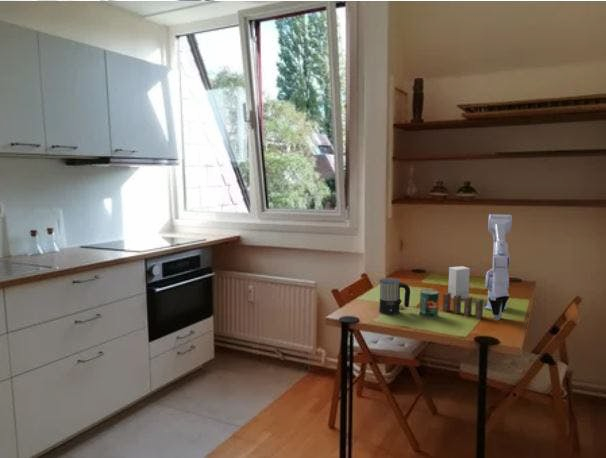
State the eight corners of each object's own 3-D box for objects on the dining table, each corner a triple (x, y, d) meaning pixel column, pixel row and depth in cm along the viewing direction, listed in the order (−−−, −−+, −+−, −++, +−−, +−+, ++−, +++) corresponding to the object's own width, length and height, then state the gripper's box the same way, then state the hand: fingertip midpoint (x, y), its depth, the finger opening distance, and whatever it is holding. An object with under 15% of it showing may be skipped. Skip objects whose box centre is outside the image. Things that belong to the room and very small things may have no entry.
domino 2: (457, 311, 207) (457, 294, 206) (460, 312, 206) (461, 295, 205) (453, 313, 204) (453, 296, 203) (456, 314, 203) (457, 296, 202)
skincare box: (460, 295, 235) (462, 265, 233) (469, 298, 228) (470, 268, 227) (447, 296, 232) (448, 266, 230) (455, 299, 226) (456, 269, 224)
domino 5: (497, 317, 199) (498, 299, 198) (501, 318, 198) (502, 300, 197) (494, 319, 196) (495, 301, 195) (497, 320, 195) (498, 302, 194)
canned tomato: (423, 311, 206) (424, 288, 204) (440, 315, 201) (441, 291, 199) (416, 316, 200) (417, 291, 198) (433, 319, 195) (434, 294, 193)
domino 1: (446, 309, 210) (447, 292, 209) (450, 309, 209) (450, 293, 208) (442, 311, 207) (443, 293, 206) (446, 311, 206) (446, 294, 205)
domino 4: (478, 316, 200) (479, 298, 199) (482, 317, 199) (483, 299, 198) (474, 318, 197) (475, 300, 196) (478, 319, 196) (479, 301, 195)
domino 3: (467, 313, 203) (468, 296, 202) (471, 314, 202) (472, 297, 201) (463, 315, 200) (464, 298, 199) (467, 316, 199) (468, 298, 198)
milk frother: (383, 315, 200) (384, 283, 198) (369, 305, 215) (369, 275, 213) (412, 313, 204) (413, 281, 202) (396, 303, 219) (397, 273, 217)
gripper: (503, 287, 187) (501, 319, 188) (515, 281, 197) (513, 311, 199) (485, 284, 192) (484, 315, 193) (499, 278, 202) (497, 308, 204)
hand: (498, 313), depth 196 cm, fingers open, 5 cm apart
